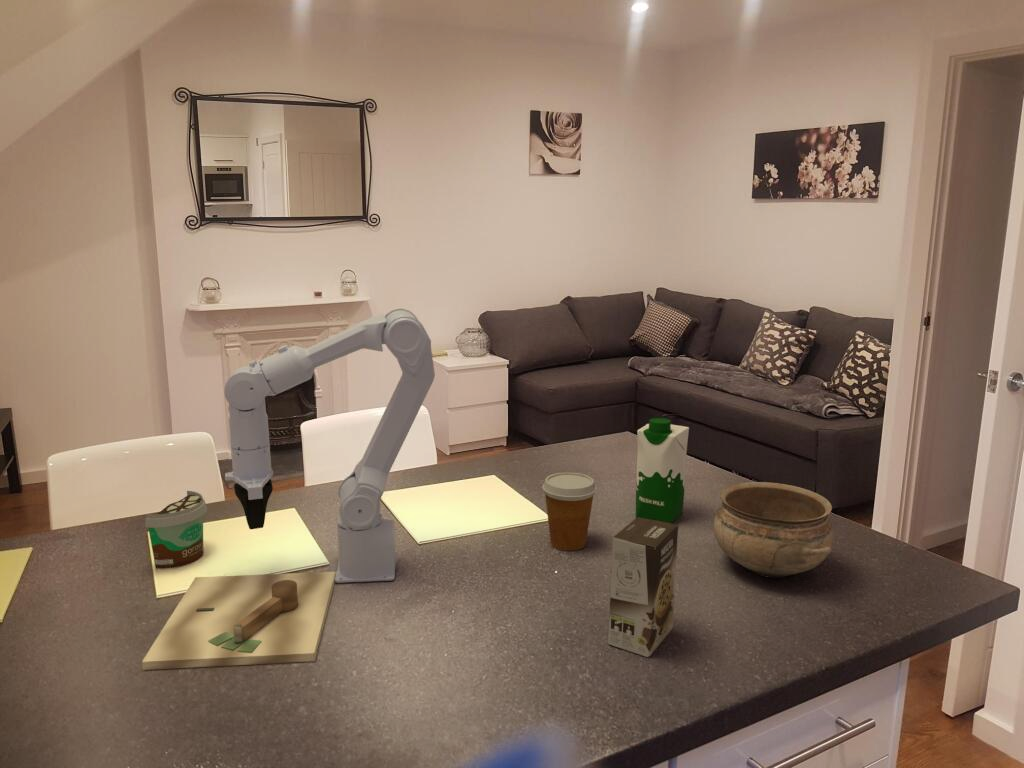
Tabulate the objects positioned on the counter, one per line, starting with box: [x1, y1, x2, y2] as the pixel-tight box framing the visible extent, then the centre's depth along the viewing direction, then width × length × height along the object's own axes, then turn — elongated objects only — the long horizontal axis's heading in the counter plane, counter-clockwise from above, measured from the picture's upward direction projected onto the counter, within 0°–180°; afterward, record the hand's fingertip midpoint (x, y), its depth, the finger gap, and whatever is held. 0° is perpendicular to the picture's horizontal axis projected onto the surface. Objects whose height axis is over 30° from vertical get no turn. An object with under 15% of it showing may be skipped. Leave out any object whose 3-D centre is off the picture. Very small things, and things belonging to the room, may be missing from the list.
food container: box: [144, 490, 208, 570], centre depth 134 cm, size 12×6×10 cm, turn 168°
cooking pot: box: [713, 481, 835, 578], centre depth 131 cm, size 25×19×12 cm
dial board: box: [141, 571, 337, 671], centre depth 115 cm, size 22×24×1 cm
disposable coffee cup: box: [541, 472, 597, 552], centre depth 141 cm, size 10×10×12 cm
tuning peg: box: [233, 580, 298, 643], centre depth 112 cm, size 13×4×3 cm, turn 160°
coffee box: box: [607, 517, 679, 658], centre depth 110 cm, size 9×6×16 cm
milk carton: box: [635, 417, 690, 524], centre depth 152 cm, size 9×9×20 cm
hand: (256, 527), depth 125 cm, fingers closed
